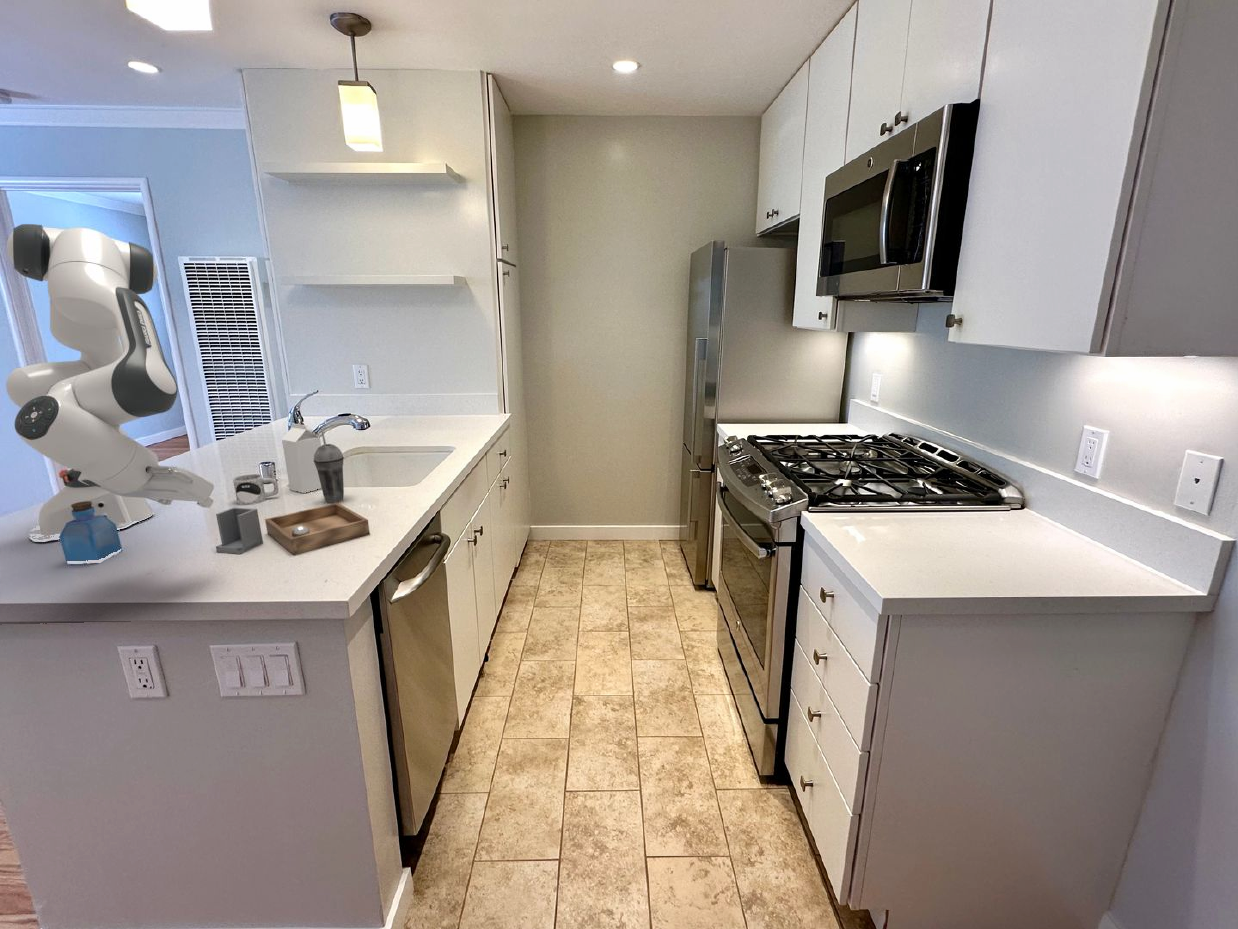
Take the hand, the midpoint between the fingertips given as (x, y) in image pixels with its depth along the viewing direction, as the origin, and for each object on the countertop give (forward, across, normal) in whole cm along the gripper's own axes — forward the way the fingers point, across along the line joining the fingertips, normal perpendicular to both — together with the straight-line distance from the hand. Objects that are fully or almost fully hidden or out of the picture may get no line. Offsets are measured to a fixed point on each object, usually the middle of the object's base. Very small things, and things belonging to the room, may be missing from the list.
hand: (188, 502), depth 112 cm
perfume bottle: (+9, +26, +10) cm, 29 cm away
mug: (+37, +23, -18) cm, 47 cm away
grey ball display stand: (+16, 0, +3) cm, 16 cm away
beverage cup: (+39, +2, -20) cm, 44 cm away
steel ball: (+17, -12, -2) cm, 21 cm away
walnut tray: (+23, -11, -4) cm, 26 cm away
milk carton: (+45, +17, -26) cm, 55 cm away
